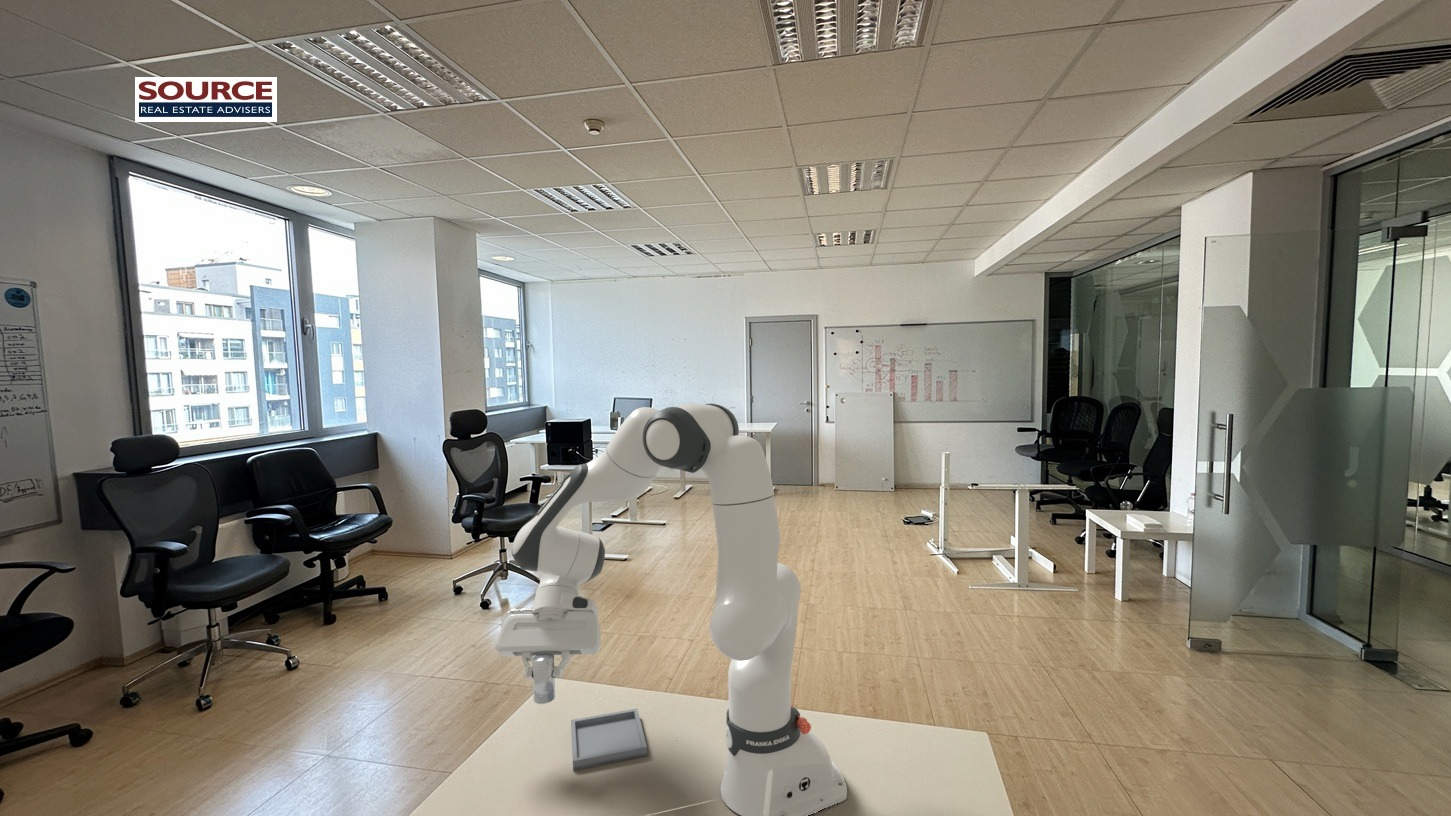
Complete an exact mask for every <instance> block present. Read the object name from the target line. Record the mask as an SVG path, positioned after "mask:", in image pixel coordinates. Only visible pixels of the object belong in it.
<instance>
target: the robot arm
mask: <svg viewBox="0 0 1451 816" xmlns="http://www.w3.org/2000/svg"><path fill="white" fill-rule="evenodd" d="M739 431H740V429H739V424H738V419H737V418H736V416H735V415H734V414H733V412H732V411H731V410H729V408H726V407H725V406H722V405H720V404H715V403H699V404H698V403H686V404H681V405H677V406H669V407H665V408H663V409H662V408H661V410H659V409H657V408H654V407H649V406H643V407H638V408H636V409H634V410H633V411H632V412H631V413H630V414H629V415H628V416H627V417H626V418H625V420H624V421H623V422H622V423H621V425H620V426H619V427H618V428H617V430H616V432H615V433H614V434H613V436H612V437H611V439H610V441H609V442H608V444H607V446H606V448H605V449H604V450H603V451H602V452H601V453H600V454H599V455H598V456H596V458H594V459H592V460H591V461H588V462H586V463H582V464H577V466H575V467H574V468H573V469H572V470H571V471H570V472H569V473H568V474H567V475H566V476H565V478H564V479H563V480H562V481H561V482H560V484H558V486H557V487H556V488H555V490H553V492H552V494H550V496H549V497H548V498H547V499H546V501H544V503H543V504H542V506H540V508H539V509H538V510H537V512H536V513H534V515H533V516H532V517H530V519H528V520H527V521H526V522H525V523H524V524H523V525H522V527H521V528H520V529H519V531H518V532H517V534H516V536H515V537H514V540H513V543H512V547H511V548H512V549H511V555H512V558H513V559H514V561H515V563H516V564H517V566H518V567H519V568H520V569H521V570H522V571H523V570H524V571H530V572H535V573H536V572H539V577H540V579H539V580H540V581H539V584H538V586H537V588H536V591H535V596H534V602H533V606H532V607H530V608H529V607H527V608H525V607H524V608H511V610H509V611H506V613H505V614H504V615H503V616H502V620H501V625H500V627H501V628H500V631H499V633H498V635H497V636H498V637H497V640H496V642H495V649H496V651H497V653H498V654H499V655H500V656H501V657H521V659H522V662H523V665H524V667H525V669H524V674H523V676H524V679H525V680H533V666H531V665H530V662H532V659H533V657H535V656H536V655H539V654H542V653H550V654H553V655H554V656H561V657H560V658H562V659H561V661H560V662H559V664H558V665H557V666H556V665H554V668H553V671H554V672H553V678H555V679H562V677H563V672H564V669H565V668H566V667H567V665H568V664H569V663H570V661H571V657H572V656H578V655H579V656H580V655H596V654H597V653H598V652H599V651H600V649H601V625H600V623H599V620H598V616H599V611H598V606H597V605H596V603H595V601H594V600H593V599H591V598H588V597H584V596H581V595H579V594H580V593H579V587H580V585H581V584H586V583H589V581H592V580H593V579H594V578H596V577H598V576H599V575H600V574H601V572H602V570H603V567H604V562H605V557H606V548H605V545H604V543H603V541H602V539H601V538H600V537H599V536H596V535H594V534H590V533H587V532H583V531H580V530H574V529H573V528H572V529H571V528H567V527H564V526H561V525H560V523H561V522H562V521H563V519H565V517H566V516H567V514H569V513H570V511H571V510H573V508H575V507H576V506H580V505H581V504H587V503H595V502H596V503H597V502H613V503H619V502H621V503H622V502H627V501H631V500H633V499H636V498H638V497H639V496H641V495H642V494H643V493H644V492H645V491H647V489H648V488H649V487H650V486H651V484H652V482H653V481H654V479H655V477H656V476H657V474H658V472H659V471H660V469H661V467H665V468H668V469H674V470H680V471H683V472H688V473H689V474H690V473H691V474H694V473H696V472H699V470H700V471H702V472H703V473H704V474H705V476H706V478H707V479H708V483H709V487H710V494H711V496H710V497H711V502H712V503H711V504H712V510H713V511H712V512H713V519H714V526H715V533H716V541H717V568H716V569H717V570H716V586H715V587H716V589H715V600H714V606H713V609H712V613H711V616H710V617H711V618H710V620H709V634H710V637H711V640H712V642H713V644H714V646H715V647H716V649H717V650H718V651H719V652H721V654H722V655H723V656H725V657H727V658H729V659H730V663H729V666H728V672H727V673H728V674H727V675H728V709H727V711H726V718H725V719H726V720H725V721H726V722H725V723H726V724H725V740H726V743H725V744H726V746H727V751H726V752H727V754H726V761H725V767H724V772H723V776H722V780H721V783H720V796H721V799H722V800H723V802H724V804H725V805H726V806H727V807H728V809H731V810H732V811H733V812H734V813H735V814H737V815H740V816H807V815H811V814H813V813H815V812H817V811H820V810H821V809H824V808H826V809H828V808H827V807H829V806H831V807H833V806H835V805H837V803H838V804H839V803H842V802H844V801H846V800H847V798H848V787H847V784H846V780H845V778H844V775H843V774H842V771H841V770H840V769H839V767H838V766H837V765H836V763H835V762H834V761H833V760H832V759H831V756H830V753H829V751H828V750H827V748H826V746H825V745H824V743H823V741H822V740H821V739H820V738H819V737H818V735H816V734H815V733H814V732H812V731H811V730H812V725H811V723H809V721H808V719H807V718H805V717H803V716H802V717H801V713H800V712H799V710H798V709H797V708H795V707H793V705H792V696H791V695H792V693H791V691H792V686H791V685H792V682H791V681H792V665H793V656H794V652H795V650H794V649H795V643H796V632H797V624H798V613H799V611H798V610H799V605H800V599H801V593H802V592H801V591H802V589H801V587H802V586H801V582H800V578H798V575H797V574H796V573H795V571H793V569H791V568H790V567H789V566H787V565H785V564H784V563H780V562H779V561H778V558H779V549H780V544H781V534H780V525H779V519H778V512H777V505H776V497H775V492H774V486H773V480H772V475H771V472H770V467H769V464H768V460H767V457H766V455H765V451H764V449H763V446H762V445H761V443H760V442H758V440H756V439H755V438H753V437H751V436H747V435H742V434H741V435H739V434H740V432H739ZM834 804H835V805H834ZM832 805H833V806H832ZM829 808H830V807H829ZM824 810H825V809H824ZM820 812H821V811H820ZM817 813H818V812H817ZM815 814H816V813H815ZM813 815H814V814H813ZM811 816H812V815H811Z"/></svg>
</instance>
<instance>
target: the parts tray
mask: <svg viewBox="0 0 1451 816" xmlns="http://www.w3.org/2000/svg"><path fill="white" fill-rule="evenodd" d="M570 731H571V732H570V733H571V753H572V756H571V757H572V771H577V770H582V769H588V768H592V767H596V766H602V765H607V764H612V763H616V762H617V763H618V762H623V761H627V760H633V759H638V758H642V757H646V756H648V746H647V742H646V738H645V735H644V734H645V733H644V730H643V725H642V722H641V717H640V714H639V709H638V708H633V709H627V710H621V711H616V712H610V713H605V714H598V715H593V716H587V717H582V718H576V719H575V718H574V719H571V720H570Z"/></svg>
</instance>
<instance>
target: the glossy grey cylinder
mask: <svg viewBox="0 0 1451 816" xmlns="http://www.w3.org/2000/svg"><path fill="white" fill-rule="evenodd" d="M531 662H532V667H533V679H532V687H533V688H532V689H533V690H532V691H533V702H534V703H536V704H538V705H544V704H548V703H551V702H552V701H554V700H555V698H556V681H555V679H556V678H553V672H554V671H553V668H554V666H555V655H553V654H550V653H542V654H539V655H536V656H533V657H532V661H531Z"/></svg>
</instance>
